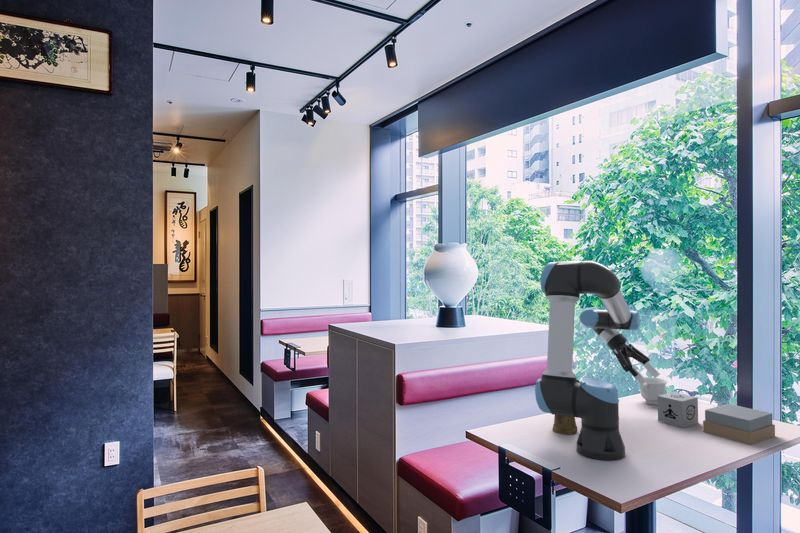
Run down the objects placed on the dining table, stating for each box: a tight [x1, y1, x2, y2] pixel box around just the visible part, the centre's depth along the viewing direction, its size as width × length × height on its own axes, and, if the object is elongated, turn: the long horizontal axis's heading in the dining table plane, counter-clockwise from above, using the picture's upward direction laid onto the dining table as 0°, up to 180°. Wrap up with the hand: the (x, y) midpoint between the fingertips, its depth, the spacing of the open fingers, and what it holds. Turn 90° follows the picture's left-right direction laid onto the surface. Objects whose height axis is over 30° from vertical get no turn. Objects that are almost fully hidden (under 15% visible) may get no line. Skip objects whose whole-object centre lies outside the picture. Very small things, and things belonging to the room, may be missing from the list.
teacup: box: [638, 376, 668, 405], centre depth 223 cm, size 12×15×10 cm
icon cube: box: [657, 391, 699, 428], centre depth 197 cm, size 10×10×10 cm
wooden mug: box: [552, 379, 581, 435], centre depth 192 cm, size 9×14×18 cm, turn 128°
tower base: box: [702, 403, 776, 446], centre depth 182 cm, size 16×16×8 cm
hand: (650, 379), depth 203 cm, fingers open, 13 cm apart
